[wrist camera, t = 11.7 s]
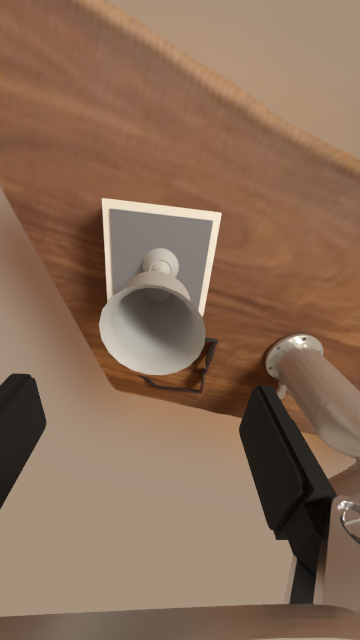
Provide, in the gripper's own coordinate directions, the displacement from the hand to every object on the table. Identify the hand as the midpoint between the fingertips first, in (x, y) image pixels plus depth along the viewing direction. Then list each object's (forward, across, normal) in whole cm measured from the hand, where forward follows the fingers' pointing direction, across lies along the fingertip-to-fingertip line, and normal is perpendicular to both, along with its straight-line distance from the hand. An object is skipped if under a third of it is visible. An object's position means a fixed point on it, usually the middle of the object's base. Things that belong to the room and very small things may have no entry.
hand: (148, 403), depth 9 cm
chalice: (+24, 0, 0) cm, 24 cm away
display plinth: (+31, 0, 0) cm, 31 cm away
